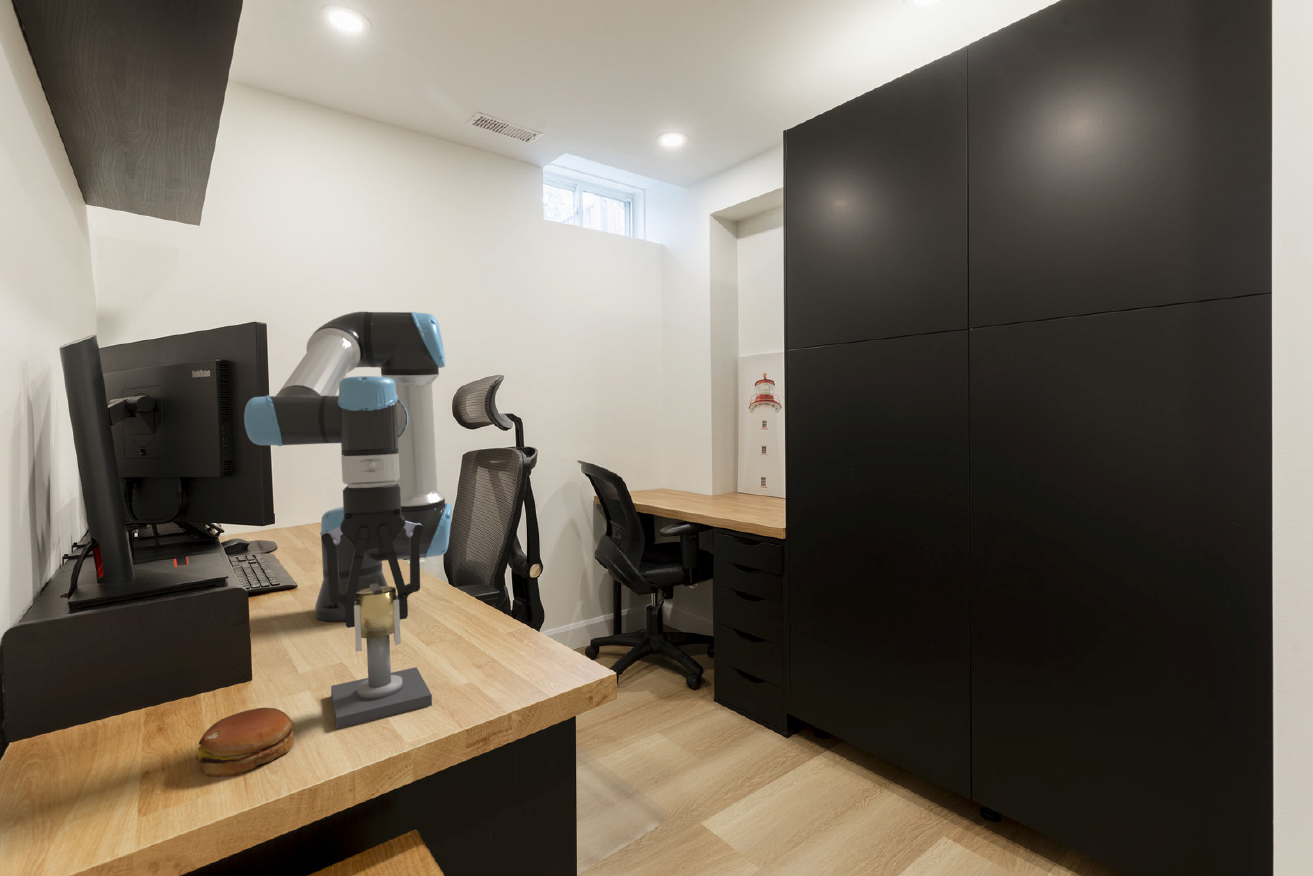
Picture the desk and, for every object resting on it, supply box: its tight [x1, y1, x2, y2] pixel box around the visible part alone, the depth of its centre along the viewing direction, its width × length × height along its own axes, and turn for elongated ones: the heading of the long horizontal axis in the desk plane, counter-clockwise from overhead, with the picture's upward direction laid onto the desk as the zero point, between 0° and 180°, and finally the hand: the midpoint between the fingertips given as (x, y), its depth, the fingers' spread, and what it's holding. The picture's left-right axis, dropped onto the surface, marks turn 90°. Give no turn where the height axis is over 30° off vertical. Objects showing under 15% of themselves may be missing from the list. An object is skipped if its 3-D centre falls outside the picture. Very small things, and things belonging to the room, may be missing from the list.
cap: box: [356, 583, 397, 639], centre depth 88 cm, size 5×5×7 cm
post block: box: [330, 635, 433, 730], centre depth 88 cm, size 12×12×10 cm
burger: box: [195, 707, 295, 778], centre depth 74 cm, size 10×9×5 cm
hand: (378, 644), depth 88 cm, fingers closed on cap, 4 cm apart
